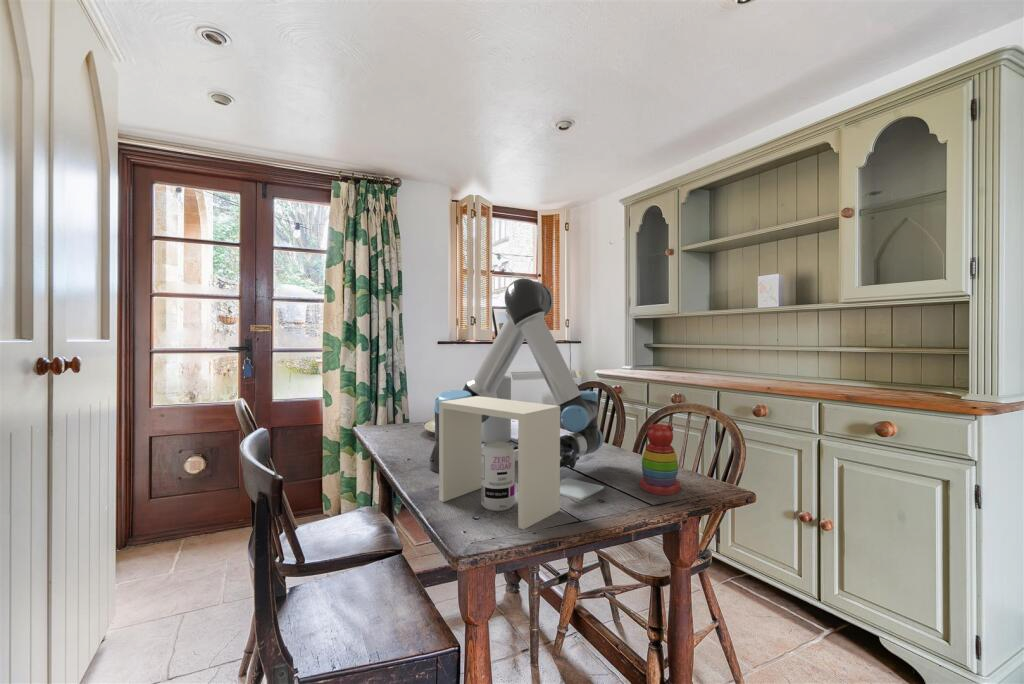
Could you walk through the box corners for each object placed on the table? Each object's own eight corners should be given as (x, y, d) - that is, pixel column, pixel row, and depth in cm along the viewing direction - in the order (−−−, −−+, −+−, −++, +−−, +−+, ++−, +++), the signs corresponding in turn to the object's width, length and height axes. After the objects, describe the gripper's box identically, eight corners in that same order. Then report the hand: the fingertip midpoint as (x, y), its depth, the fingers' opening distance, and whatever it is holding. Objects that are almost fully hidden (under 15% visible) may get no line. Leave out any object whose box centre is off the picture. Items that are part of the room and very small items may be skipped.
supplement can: (498, 497, 121) (498, 439, 121) (521, 505, 115) (521, 444, 115) (474, 505, 115) (474, 444, 115) (497, 514, 109) (497, 450, 109)
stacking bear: (680, 485, 130) (681, 421, 130) (681, 497, 121) (681, 428, 121) (640, 481, 134) (640, 419, 134) (637, 493, 124) (638, 426, 124)
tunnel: (523, 529, 101) (523, 413, 101) (439, 500, 118) (439, 401, 118) (559, 510, 112) (560, 406, 112) (477, 486, 129) (477, 396, 129)
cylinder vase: (481, 436, 191) (481, 375, 191) (512, 437, 190) (512, 375, 189) (476, 443, 179) (476, 378, 178) (509, 444, 177) (509, 378, 177)
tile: (581, 500, 119) (581, 498, 119) (542, 490, 126) (542, 488, 126) (604, 488, 128) (604, 486, 128) (566, 479, 136) (566, 477, 136)
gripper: (606, 467, 132) (565, 486, 116) (535, 453, 148) (489, 468, 131) (606, 440, 132) (565, 456, 115) (535, 429, 148) (489, 441, 131)
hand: (525, 462), depth 123 cm, fingers open, 13 cm apart
